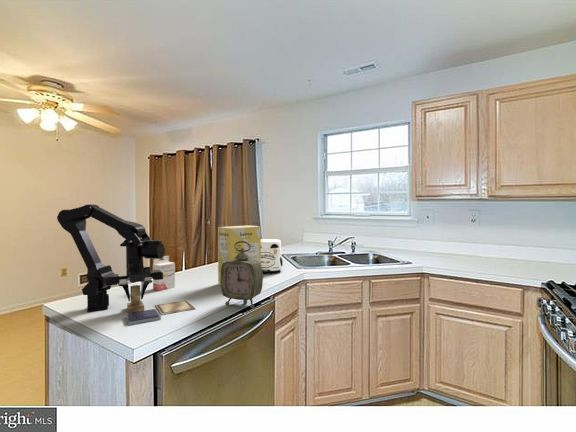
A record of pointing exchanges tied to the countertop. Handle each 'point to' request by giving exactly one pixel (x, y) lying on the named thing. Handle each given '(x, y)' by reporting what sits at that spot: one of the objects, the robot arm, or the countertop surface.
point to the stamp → (135, 300)
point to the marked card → (175, 307)
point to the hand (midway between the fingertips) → (135, 300)
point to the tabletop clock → (241, 277)
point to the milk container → (271, 255)
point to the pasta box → (233, 235)
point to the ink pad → (142, 316)
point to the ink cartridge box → (164, 274)
